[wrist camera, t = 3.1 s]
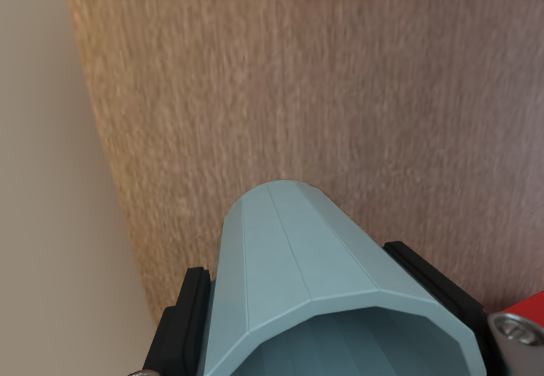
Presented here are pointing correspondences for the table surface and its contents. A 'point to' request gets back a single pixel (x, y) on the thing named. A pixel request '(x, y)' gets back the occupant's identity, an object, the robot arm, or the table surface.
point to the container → (320, 298)
